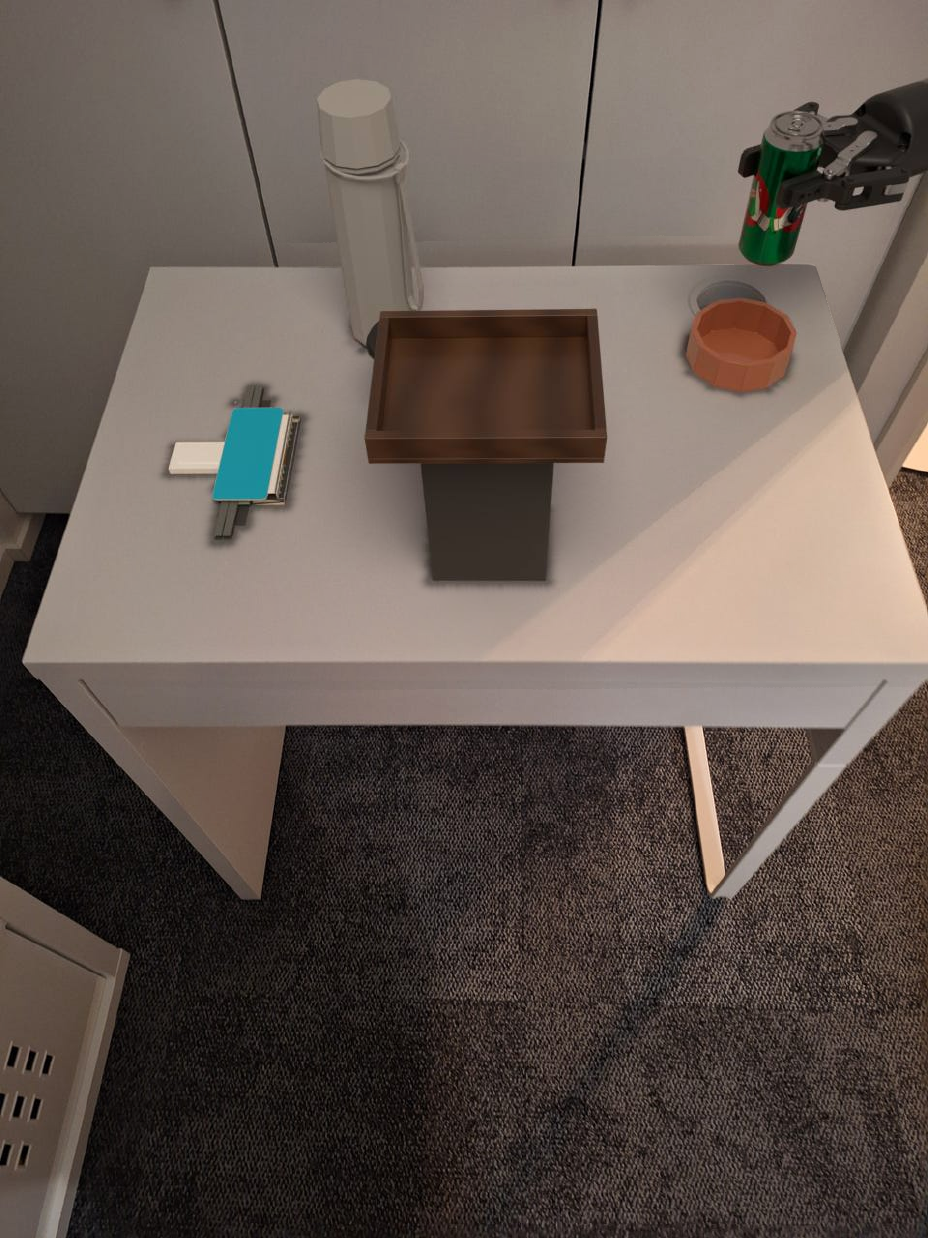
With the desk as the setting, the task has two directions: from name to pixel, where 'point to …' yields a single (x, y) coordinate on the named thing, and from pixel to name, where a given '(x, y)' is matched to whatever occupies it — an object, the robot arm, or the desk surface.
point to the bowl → (740, 344)
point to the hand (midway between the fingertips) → (761, 180)
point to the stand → (488, 520)
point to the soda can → (781, 157)
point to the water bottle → (368, 200)
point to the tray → (487, 388)
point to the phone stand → (245, 460)
